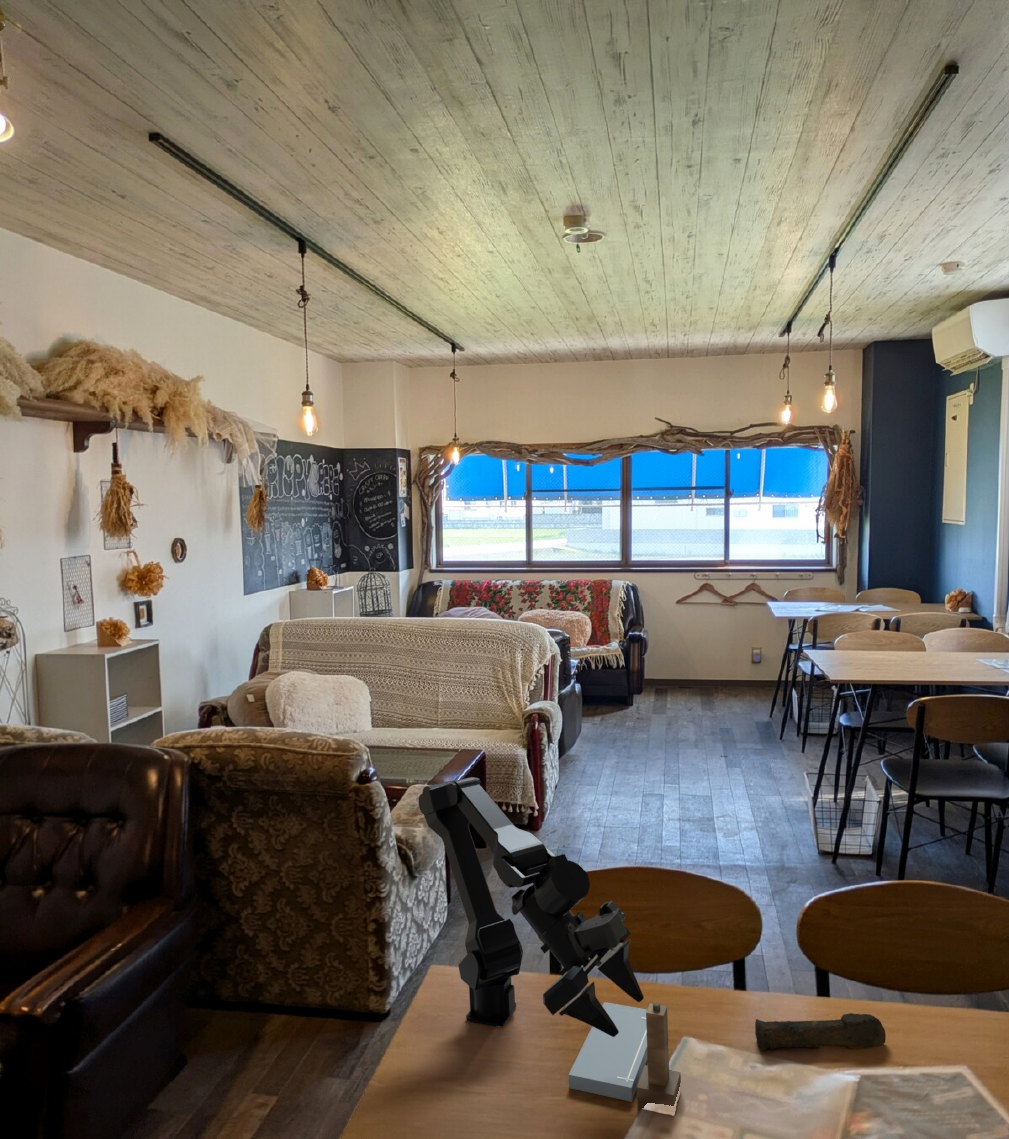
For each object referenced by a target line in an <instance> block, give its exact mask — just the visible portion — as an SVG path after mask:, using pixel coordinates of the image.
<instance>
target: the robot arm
mask: <svg viewBox="0 0 1009 1139" xmlns="http://www.w3.org/2000/svg"><path fill="white" fill-rule="evenodd" d="M418 807H419V810H420V813H421V814H422V815H423V816H424V819H425V821H426V822H425V823H426V824H427V826H428V827H429V829H430V830H432V831H433V832H434V833H435V834H437V836H438V837H440V838H441V840H442V843H443V846H444V848H445V852H446V853H445V854H446V856H447V859H448V862H449V864H450V865H449V866H450V867H451V872H452V874H453V878H454V881H455V884H456V887H457V890H458V893H459V894H458V895H459V896H460V901H461V903H462V906H463V910H464V912H465V915H466V918H467V922H468V927H467V932H466V937H465V942H464V947H465V949H466V950H465V952H466V955H465V957H463V958H462V960H461V962H459V964H458V971H459V977H460V979H461V980H462V982H464V983H465V984H467V986H468V992H469V1011H468V1013H466V1016H465V1020H466V1019H467V1020H466V1021H468V1020H469V1021H470V1022H474V1023H479V1024H483V1025H491V1026H495V1027H499V1028H500V1027H501V1028H502V1027H504V1025H505V1024H506V1022H507V1021H508V1020H509V1018H511V1016H512V1014H513V1013H514V1011H515V1009H516V1008H517V1002H516V995H515V985H514V984H512V977H514V976H518V975H519V974H520V970H521V965H522V961H523V956H524V955H523V953H524V951H523V946H522V943H521V941H520V939H519V937H518V935H517V932H516V929H515V925H514V922H513V920H511V919H510V918H507V919H505V918H504V917H503V916H501V915H500V914H499V913H498V911H497V909H496V906H495V903H494V900H493V897H492V894H491V891H490V888H489V885H488V882H487V878H486V877H485V873H484V870H483V867H482V864H481V860H480V857H479V854H478V852H477V848H476V845H475V843H474V839H473V836H472V833H471V831H470V826H469V825H470V824H471V826H473V828H474V829H475V831H476V832H477V833H478V834H479V835H480V837H481V838H482V840H483V841H484V842H485V843H486V845H487V846H488V848H490V850H491V852H492V854H493V856H492V867H493V868H494V870H495V871H496V873H497V876H498V878H499V879H500V881H502V883H503V884H504V885H505V886H506V887H508V888H509V889H513V888H520V889H519V890H518V891H516V893H514V894H513V895H512V896H511V901H512V903H511V913H512V915H513V916H517V915H518V914H521V915H522V917H523V918H524V919H525V920H526V922H527V923H528V924H529V926H530V927H531V928H532V930H534V932H535V933H536V935H537V936H539V938H540V939H541V941H542V942H543V944H542V945H541V946H540V950H541V951H542V952H543V954H546V953H547V952H549V951H550V952H551V954H552V955H553V956H554V957H555V958H556V960H557V961H558V963H559V964H560V965H561V966H562V968H561V969H560V970H559V974H560V975H561V976H560V977H558V979H556V980H555V981H554V982H553V983H552V984H551V985H550V987H549V988H547V989H546V991H545V992H544V993H543V994H542V1000H543V1001H542V1004H543V1006H545V1008H546V1009H547V1011H548V1012H549V1013H550V1014H551V1016H554V1015H555V1014H557V1013H558V1014H559V1016H561V1017H562V1016H564V1015H566V1016H568V1017H571V1018H573V1019H576V1020H578V1021H581V1022H583V1023H585V1024H586V1025H589V1026H591V1027H592V1026H593V1027H595V1028H596V1029H598V1030H600V1031H602V1032H604V1033H606V1034H608V1035H610V1036H612V1037H615V1036H616V1035H617V1034H618V1033H619V1031H618V1029H617V1027H616V1026H615V1024H614V1022H613V1021H612V1019H611V1018H610V1016H609V1015H608V1014H607V1012H606V1011H605V1009H604V1008H603V1004H601V1002H600V1001H599V999H598V998H597V995H596V987H595V986H596V985H595V981H592V982H591V983H589V982H590V981H589V976H588V975H589V973H591V971H592V970H593V969H594V968H595V967H596V966H597V964H599V963H601V964H600V965H599V966H598V967H597V968H596V969H597V970H598V971H600V972H601V973H602V974H603V975H604V976H605V977H606V978H608V979H609V980H610V981H611V982H612V983H613V984H615V985H616V987H618V988H619V989H621V990H622V991H623V992H624V993H626V995H628V996H629V997H630V998H631V999H632V1000H635V1001H636V1002H637V1003H641V1002H642V1001H643V1000H644V999H645V998H644V994H643V992H642V989H641V987H640V984H639V982H638V980H637V978H636V975H635V973H634V970H633V968H632V965H631V963H630V959H629V950H630V949H629V947H630V944H631V940H630V939H628V938H629V936H630V935H631V934H632V933H631V931H630V930H629V929H628V928H627V927H626V925H625V924H624V920H626V914H625V912H623V911H622V910H621V909H620V907H619V906H617V904H616V903H615V901H613V900H610V901H607V902H604V903H603V904H602V905H601V906H600V907H599V909H598V910H599V913H598V914H596V915H595V916H594V917H591V918H587V917H586V916H585V915H584V914H583V913H581V912H580V911H578V912H577V913H576V914H575V915H574V914H573V912H572V911H571V910H572V909H573V908H574V907H575V906H576V905H577V904H579V903H580V902H581V901H582V900H583V899H585V897H587V895H588V893H589V890H590V886H591V883H590V877H589V874H588V873H587V871H586V870H585V869H583V867H582V866H580V865H579V864H578V863H576V861H573V860H568V858H567V855H566V853H565V852H562V853H559V854H554V853H553V852H552V851H551V850H550V849H548V848H547V847H546V845H545V844H544V843H543V842H542V841H540V840H539V839H538V838H537V837H536V836H535V835H533V834H532V833H531V832H529V831H526V830H523V829H520V828H518V827H516V826H515V825H514V823H513V822H512V821H511V820H510V819H509V817H508V816H507V815H506V814H505V813H504V812H503V811H502V809H501V808H500V806H498V804H496V802H495V801H494V799H492V797H491V796H490V795H489V794H488V792H486V790H485V789H484V787H483V783H482V781H481V780H480V778H478V777H474V776H469V777H466V778H461V779H453V780H449V781H444V782H443V781H442V782H440V783H436V784H431V785H427V786H425V787H423V789H422V793H421V794H420V795H419V796H418ZM528 885H530V886H528ZM525 886H528V887H527V888H526V889H522V887H525ZM627 939H628V940H627ZM588 984H589V985H588Z"/></svg>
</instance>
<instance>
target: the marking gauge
mask: <svg viewBox="0 0 1009 1139" xmlns="http://www.w3.org/2000/svg"><path fill="white" fill-rule="evenodd" d="M646 1010H647V1011H646V1027H647V1065H645V1066H644V1069H643V1071H642V1074H641V1077H640V1080H639V1082H638V1085H637V1089H636V1102H637V1103H636V1107H637V1109H638V1110H642V1108H644V1106H645V1105H646V1104H647V1103H655V1104H664V1105H669V1106H670V1105H671V1106H674V1104H675V1101H676V1097H677V1094H678V1091H679V1087H680V1083H681V1084H682V1080H681V1078H682V1077H681V1072H680V1071H676V1070H673V1069H671V1070H670V1059H669V1058H670V1057H669V1050H670V1049H669V1027H668V1026H669V1024H668V1022H669V1021H668V1005H662V1004H660V1003H658V1002H653V1003H652V1002H650V1003H649V1004H648V1007H647V1009H646Z"/></svg>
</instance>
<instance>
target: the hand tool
mask: <svg viewBox="0 0 1009 1139" xmlns="http://www.w3.org/2000/svg"><path fill="white" fill-rule="evenodd" d="M754 1028H755V1029H754V1030H755V1032H754V1033H755V1034H754V1035H755V1039H756V1042H757V1045H758V1048H759V1049H760V1051H761V1052H762V1051H764V1050H766V1049H769V1050H770V1051H774V1050H775V1049H776V1048H777V1049H778V1048H797V1047H803V1048H804V1047H805V1048H810V1047H811V1048H812V1047H829V1046H831V1047H832V1046H838V1047H845V1048H846V1049H848V1050H851V1051H856V1050H864V1049H865V1050H866V1049H869V1048H870V1049H871V1048H873V1047H877V1046H881V1045H884V1044H885V1043H886V1036H887V1035H886V1030H885V1027H884V1026H883V1024H882V1022H881V1020H880V1019H879V1018H877V1017H876V1016H874V1015H872V1014H867V1013H862V1014H861V1013H854V1012H853V1013H844V1014H842V1016H841V1017H840V1019H831V1020H828V1019H827V1020H795V1021H791V1020H786V1021H783V1020H782V1021H779V1020H778V1021H777V1020H774V1021H771V1020H769V1021H764V1020H760V1019H758V1018H757V1019H755V1023H754Z"/></svg>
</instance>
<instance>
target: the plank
mask: <svg viewBox="0 0 1009 1139" xmlns="http://www.w3.org/2000/svg"><path fill="white" fill-rule="evenodd" d="M602 1006H603V1008H604V1009H605V1011H606V1012H607V1014H608V1015H609V1016H610V1018H611V1019H612V1021H613V1022H614V1024H615V1026H616V1027H617V1029H618V1031H619V1033H618V1034H617V1035H616V1036H615V1037H612V1036H610V1035H608V1034H606V1033H604V1032H602V1031H600V1030H598V1029H596V1028H595V1027H593V1026H591V1029H590V1030H589V1032H588V1034H587V1037H586V1039H585V1040H584V1042H583V1045H582V1047H581V1048H580V1050H579V1052H578V1054H577V1057H576V1059H575V1061H574V1063H573V1065H572V1067H571V1069H570V1071H569V1073H568V1089H571V1090H576V1091H582V1092H585V1093H589V1094H590V1093H591V1094H594V1095H595V1094H596V1095H600V1096H604V1097H609V1098H613V1099H617V1100H621V1101H622V1100H623V1101H626V1102H632V1103H633V1100H634V1098H635V1094H636V1093H637V1085H638V1082H639V1080H640V1077H641V1074H642V1071H643V1069H644V1066H645V1065H646V1064H647V1063H648V1059H647V1027H646V1011H647V1009H644V1008H639V1007H634V1006H628V1005H625V1004H624V1005H623V1004H616V1003H612V1002H606V1001H604V1002H603V1004H602Z"/></svg>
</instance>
